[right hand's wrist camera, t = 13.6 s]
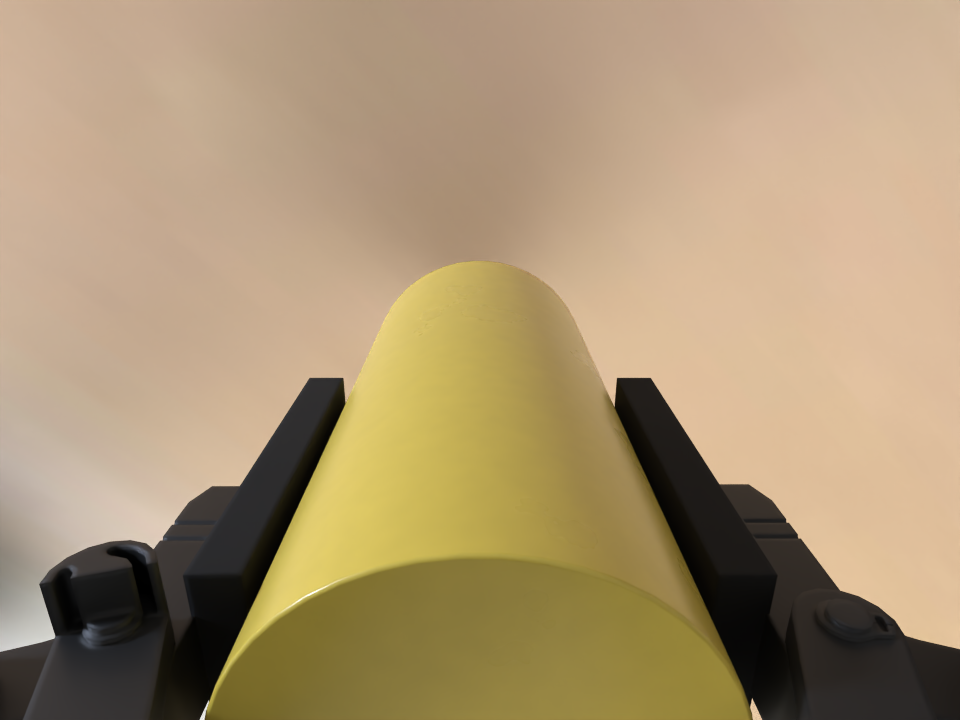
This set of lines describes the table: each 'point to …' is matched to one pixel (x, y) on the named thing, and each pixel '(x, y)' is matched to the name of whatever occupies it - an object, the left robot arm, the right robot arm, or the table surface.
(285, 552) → the cylinder
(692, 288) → the table surface
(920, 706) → the right robot arm
